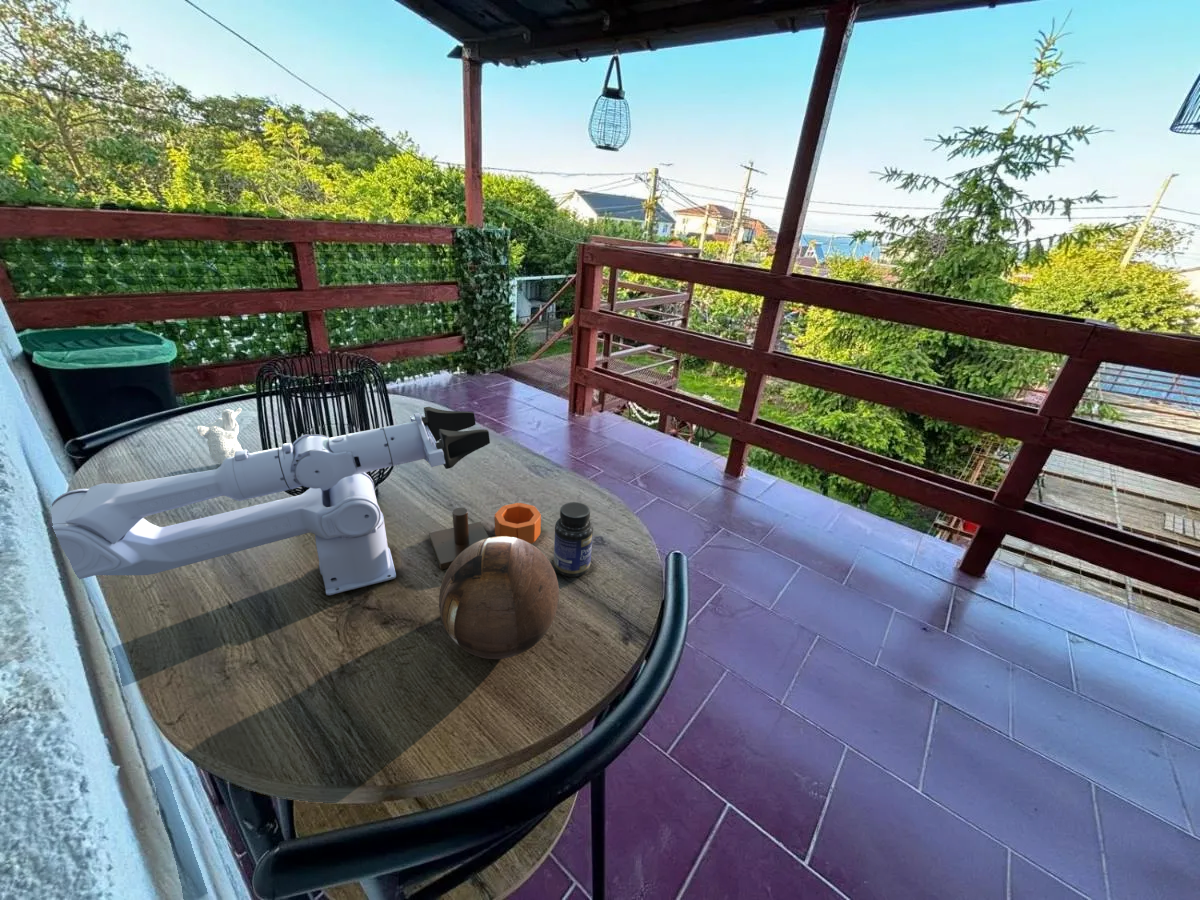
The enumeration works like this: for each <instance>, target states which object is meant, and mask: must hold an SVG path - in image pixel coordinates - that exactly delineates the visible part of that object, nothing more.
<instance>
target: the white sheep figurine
mask: <svg viewBox="0 0 1200 900" xmlns="http://www.w3.org/2000/svg"><path fill="white" fill-rule="evenodd" d="M242 410H243V409H242V408H241V407H238V408H236V409H235V410H233V409H228V408H226V409H223V410H222V411H220V412H221V417H218V418H216V419H215V420H214V421H211V422H207V423H205V424H203V425H200V424H199V425H197V427H196V431H197V433H198V435H199V436H200V437H202V438H203V437H204V439H206V443H207V445H208V452H209V455H210V458H211V460H212V461H213V462H215V463H217V464H220V465H221V464H222V463H223V461H224V460H225V459H226V458H228V457H233V456H234V455H235V452H236V451H241V450H243V448H242V445H241V444H240V442H239V441H238V435H239V433H240V432H239V430H240V427H239V423H238V422H237V420H236V418H237V417H238V416H239V414H240V413H241V412H242Z"/></svg>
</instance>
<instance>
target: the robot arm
mask: <svg viewBox="0 0 1200 900" xmlns="http://www.w3.org/2000/svg"><path fill="white" fill-rule="evenodd" d="M423 412H424V413H421V414H420V412H414V413H413V415H410V416H409V418H410V421H408V422H404V423H398V424H393V425H387V426H382V427H378V428H372V429H367V430H361V431H357V432H351V433H347V434H342V435H338V436H332V437H329V436H326V435H324V434H316V433H315V434H314V433H313V434H303V435H300V436H299V437H297V438H296V439H295V440H294V441H293V442H286V443H285V442H284V443H282V444H281V446H279V447H275V448H269V449H264V450H259V451H254V452H249V450H248V449H242V450H241V451H236V452H235V455H234V456H233V457H228V458H226V459H225V460H224V461H223V463H222V464H220V466H218V467H217V468H216V469H215V468H214V469H209V470H203V471H195V472H190V473H182V474H176V475H170V476H163V477H158V478H151V479H144V480H139V481H131V482H124V483H111V482H109V483H108V482H103V483H99V484H95V485H92V486H90V487H89V488H78V489H77V488H76V489H72V490H70V491H66V492H65V493H64V492H63V493H62V494H60V495H59V496H58V497H56V499H54V500H53V502H52V503H51V505H52V508H51V514H52V523H53V526H52V527H53V529H54V532H55V534H56V537H57V538H58V540H59V542H60V545H61V547H62V549H63V550H64V552H65V554H66V556H67V557H68V559H69V560H70V563H71V565H72V568H73V570H74V572H75V574H76V575H77V577H78V578H79V580H82V579H87V578H90V577H94V576H149V575H154V574H159V573H162V572H167V571H170V570H174V569H177V568H181V567H185V566H189V565H193V564H197V563H200V562H204V561H207V560H211V559H215V558H219V557H223V556H226V555H227V556H228V555H230V554H234V553H238V552H242V551H246V550H249V549H253V548H257V547H261V546H264V545H268V544H272V543H276V542H279V541H283V540H286V539H290V538H291V539H292V538H294V537H298V536H302V535H306V534H309V533H311V534H314V536H315V546H316V552H317V557H318V568H319V573H320V575H321V576H322V580H323V584H324V588H325V594H326V596H333V595H336V594H340V593H345V592H348V591H352V590H356V589H360V588H364V587H367V586H368V587H369V586H371V585H375V584H379V583H382V582H387V581H392V580H394V579H396V578H397V572H396V569H395V565H394V561H393V556H392V552H391V549H390V547H389V546H388V539H387V531H386V525H385V518H384V513H383V512H382V510H381V508H380V505H379V503H378V500H377V496H376V491H375V483H374V480H373V479H372V477H371V476H370V475H369V474H368V472H373V471H377V470H382V469H386V468H391V467H395V466H400V465H403V464H408V463H413V462H417V461H422V460H424V461H425V462H427V463H428V464H429V466H430V467H431V468H434V467H438V466H442V465H443V466H444V469H445V470H448V469H452V468H454V466H455V465H457V464H458V463H459V462H460V461H461V460H462V459H464V458H465V457H467V456H468V455H470V454H472V453H474V452H476V451H477V450H480V449H482V448H484V447H486V446H488V445H489V444H491V439H490V431H489V430H488V429H471V430H466V429H470V428H472V427H474V426H476V425H477V423H476V418H475V412H474V411H465V410H464V411H463V410H445V409H439V408H435V407H431V406H424V407H423ZM300 487H304V488H308V489H306V491H304V492H303V493H301V494H298V495H294V496H289V497H286V498H281V499H277V500H273V501H272V500H271V501H269V502H263V503H259V504H255V505H250V506H247V507H243V508H237V509H234V510H230V511H225V512H221V513H217V514H213V515H210V516H205V517H200V518H196V519H192V520H188V521H183V522H178V523H175V524H170V525H166V526H158V525H156V524H154V523H151V522H149V521H148V520H147V519H145V517H148V516H152V515H156V514H160V513H164V512H167V511H171V510H174V509H178V508H182V507H185V506H190V505H192V504H197V503H201V502H204V501H208V500H211V499H215V498H219V497H223V496H224V497H227V498H230V499H232V500H234V501H238V502H241V501H242V502H243V501H246V500H252V499H255V498H259V497H264V496H268V495H274V494H276V493H282V492H285V491H286V492H287V491H291V490H295V489H298V488H300Z"/></svg>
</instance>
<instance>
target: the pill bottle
mask: <svg viewBox="0 0 1200 900" xmlns="http://www.w3.org/2000/svg"><path fill="white" fill-rule="evenodd" d="M590 518H591V509H590V507H589V505H587V504H585V503H582V502H578V501H570V502H567V503H564V504H562V505H561V507H560V509H559V518H558V519H557V520H556V522H555V525H554V543H553V544H554V545H553V546H554V547H553V568H554V570H555V571H557V572H558V573H559V574H560V575H562V576H565V577H569V578H575V577H580V576H583V575H585V574H587V572H588V571H589V570H590V568H591V561H592V551H593V550H592V549H593V537H594V524H593V522H592V521H591V519H590Z"/></svg>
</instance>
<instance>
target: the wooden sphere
mask: <svg viewBox="0 0 1200 900" xmlns="http://www.w3.org/2000/svg"><path fill="white" fill-rule="evenodd" d="M559 600H560V587H559V581H558V577H557V573H556V570H555V568H554V566H553V565H552V563H551V561H550V560H549V559H548V556H546V554H544V552H542V551H541V550H540V549H539V548H538V547H537V546H535V545H534V544H533V543H532V544H530V543H528V542H526V541H524V540H521V539H518V538H514V537H507V536H498V537H497V536H492V537H489V538H487V539H484V540H481V541H478V542H476V543H474V544H472V545H471V546H469V547H468V548H466V549H465V550H464V551H462V552H461V553H460V554H459V555H458V556H457V557H456V558H455V559H454V561H453V562H452V563H451V565H450V566H449V568H447V569H446V571H445V574H444V576H443V578H442V581H441V585H440V589H439V593H438V607H439V615H440V618H441V621H442V624H443V626H444V629H445V630H446V633H447V634H448V635H449V637H450V639H452V641H453V642H454V643H455V644H456V645H457V646H458V647H460V648H461V650H462V649H463V650H464V651H465V652H467V653H469V654H470V655H474V656H476V657H479V658H483V659H488V660H504V659H509V658H512V657H513V658H514V657H515V656H518V655H521V654H522V653H524V652H526V651H528V650H529V649H531V648H533V647H534V646H535V645H536V644H537V643H539V642H540V641H541V640H542V639H543V638H544V636H546V634H547V633H548V631H549V630H550V628H551V626H552V624H553V623H554V620H555V618H556V615H557V612H558V608H559Z"/></svg>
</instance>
